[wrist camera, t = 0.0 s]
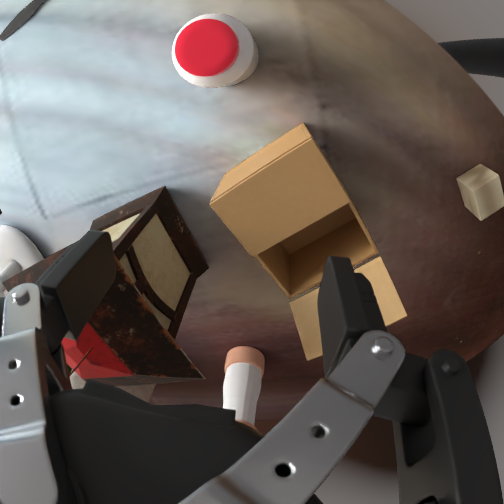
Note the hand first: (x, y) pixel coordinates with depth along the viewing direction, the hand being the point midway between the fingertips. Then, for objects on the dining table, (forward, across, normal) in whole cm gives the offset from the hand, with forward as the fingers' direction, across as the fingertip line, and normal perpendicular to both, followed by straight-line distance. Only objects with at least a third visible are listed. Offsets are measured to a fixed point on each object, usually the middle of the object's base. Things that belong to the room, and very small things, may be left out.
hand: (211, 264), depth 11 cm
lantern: (+29, +17, +14) cm, 36 cm away
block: (+29, -31, +2) cm, 43 cm away
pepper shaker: (+29, -1, +41) cm, 50 cm away
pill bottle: (+29, +5, -9) cm, 31 cm away
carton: (+29, -5, +8) cm, 30 cm away
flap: (+16, -11, +15) cm, 24 cm away
